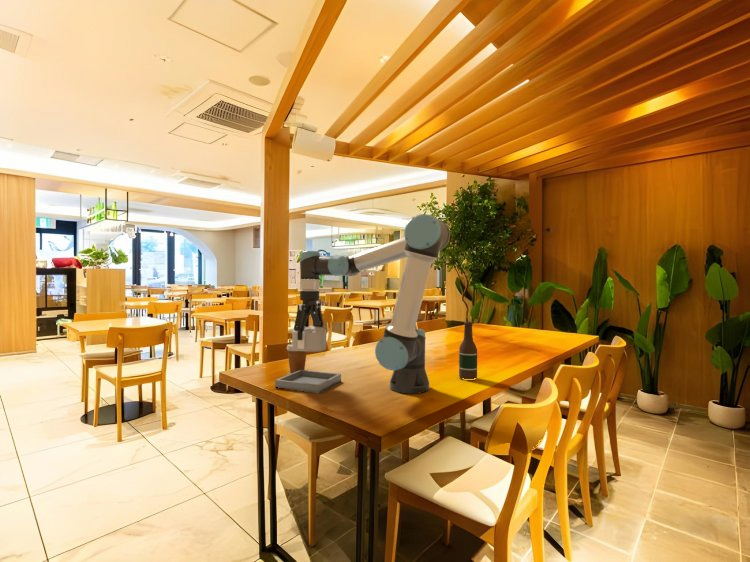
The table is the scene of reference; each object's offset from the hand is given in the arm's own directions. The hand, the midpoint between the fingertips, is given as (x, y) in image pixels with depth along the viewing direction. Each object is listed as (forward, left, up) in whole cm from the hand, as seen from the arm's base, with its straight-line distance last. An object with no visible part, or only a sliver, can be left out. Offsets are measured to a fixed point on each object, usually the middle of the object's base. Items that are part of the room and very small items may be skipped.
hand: (309, 346), depth 150 cm
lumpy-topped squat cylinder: (0, 0, -1) cm, 1 cm away
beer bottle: (-57, -33, -15) cm, 68 cm away
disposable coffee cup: (+16, -16, -15) cm, 28 cm away
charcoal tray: (0, 0, -15) cm, 15 cm away
